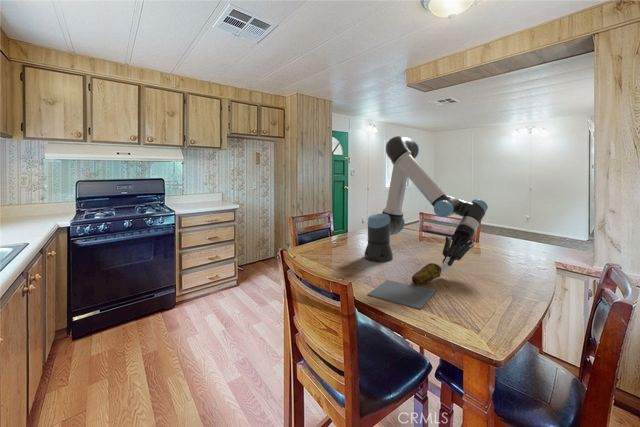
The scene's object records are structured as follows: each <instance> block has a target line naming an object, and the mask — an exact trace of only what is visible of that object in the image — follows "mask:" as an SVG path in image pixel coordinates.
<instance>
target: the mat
mask: <svg viewBox="0 0 640 427" xmlns="http://www.w3.org/2000/svg"><path fill="white" fill-rule="evenodd" d="M436 292H437V291H436V290H434V289H430V288H426V287H421V286H416V285H413V284H412V285H411V284H407V283H402V282H398V281H393V280H389V279H385V281H384V282H383V283H381V284H379V285H378V286H377V287H375V288H374V289H373V290H371V291H370V292H368V293H367V294H366V295H367V296H369V297H373V298H376V299H380V300H383V301H387V302H391V303H394V304H399V305H401V306H402V305H403V306H406V307H410V308H413V309H418V310H422V309H423V308H424V307H425V305H427V303H428V302H429V300H430V299H432V297H433V296H434V295H435V293H436Z"/></svg>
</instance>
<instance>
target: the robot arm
mask: <svg viewBox="0 0 640 427" xmlns="http://www.w3.org/2000/svg"><path fill="white" fill-rule="evenodd" d="M419 146H420V145H419V144H418V142H417V141H416V140H414V139H412V138H410V137H404V136H400V135H399V136H393V137H392V138H390V139H389V140H388V141H387V142H386V145H385V153H386V155H387V157H388V159H390V161H391V162H390V163H391V164H392V170H391V171H392V172H391V176H390V183H389V189H388V193H387V194H388V195H387V200H386V205H385V206H386V207H385V208H384V209H382V212H381V213H375V214H370V215H369V216H368V218H367V245H366V248H365V251H364V256H365V257H364V259H365V258H367V259H369V260H368V261H371V260H373V261H372V262H378V261H384V262H389V260H390V261H392V260H393V259H394V254H393V251H392V248H391V247H392V246H391V245H390V244H391V243H390V242H391V239H390V238H391V236H392V235H397V234H400V232H401V231H402V230H403V229H404V227H405V219H404V212H403V211H402V208H403V203H404V197H405V192H406V188H407V182H408V179H409V180H410V181H411V182H412V184H414V186H415V187H416V188H417V190H419V192H420V193H421V194H422V195H423V196H424V198H426V200H427V201H428V202H429V204H430V205H431V206H432V207H433V212H434V214H435V215H436V216H438V217H439V218H440V217H441V218H446V217H447V218H448V217H450V216H452V215H457V216H460V217H462V218H461V219H460V221H459V223H458V225H457V226H456V228H455V229H454V230H455V231H454V233H453V234H452V235H451V236H450V237H449V236H446V237H445V238H444V239H445V243H444V246H443V249H442V255H443V257H444V258H443V259H442V261H441V262H442V264H441V266H440V267H441V273H445V274H446V273H447V272H448V270H449V268H450V267H452V266H453V264H454V262H455V261H461V259H463V257H464V256H465V255H466V254H467V253H468V251H469V250H470V249H472V248H473V247H475V243H474V242H473V241H472V238H473V237H474V236H475V232H476V231H477V229H478V227H479V226H480V224H481V222H482V220H483V219H484V217H485V215H486V213H487V210H488V207H489V206H488V204H487V202H485V200H482V199H477V198H475V199H472V200H471V201H465V200H463V199H461V198H460V199H459V198H456V197H454V196H450V195H446V193H445V192H444V191H443V190H442V189H441V187H439V186H438V184H437V183H436V182H435V180H434V179H432V178H431V176H429V174H428V173H427V172H426V171H425V169H424V168H423V167H422V166H421V165H420V164H419V163H418V162H417V160H416V158H417V157H418V155H419V151H420V147H419ZM367 259H366V260H367Z"/></svg>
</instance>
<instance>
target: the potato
mask: <svg viewBox="0 0 640 427" xmlns="http://www.w3.org/2000/svg"><path fill="white" fill-rule="evenodd" d="M441 274H442V270H441V266H440V265H439V264H437V263H434V262H431V263H430V262H429V263H427V264H426V265H424V266H423V267H422V268H421V269H420V270H418V271H416V272H415V273H414V274H413V275H412V277H411V280H412V281H411V282H412V283H413V284H415V285H423V284H427V283H429V282H431V281H433V280H435V279H437V278H440V277H441Z"/></svg>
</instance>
